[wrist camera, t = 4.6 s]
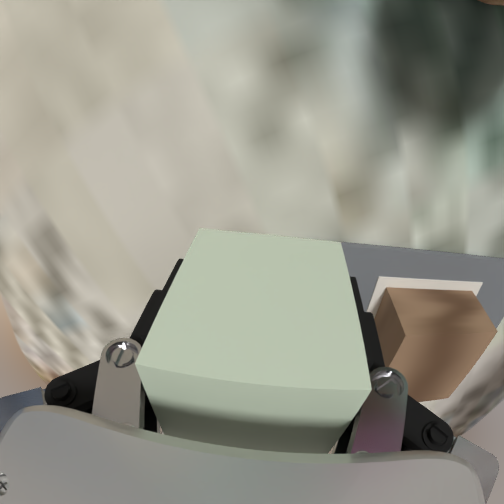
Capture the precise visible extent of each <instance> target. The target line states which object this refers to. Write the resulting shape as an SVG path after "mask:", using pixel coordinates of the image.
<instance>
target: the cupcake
mask: <svg viewBox="0 0 504 504" xmlns="http://www.w3.org/2000/svg"><path fill="white" fill-rule="evenodd" d="M478 1H481V2H483V3H486V4H491V5H503V6H504V0H478Z"/></svg>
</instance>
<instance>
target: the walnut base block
mask: <svg viewBox="0 0 504 504" xmlns="http://www.w3.org/2000/svg"><path fill="white" fill-rule="evenodd" d="M374 320H375V324H376V328H377V333H378V337H379V341H380V346H381V350H382V354H383V359H384V364H385V367H391V368H393V369H396V370H398V371H399V372H400V373H402V375H403V376H404V377H405V379H406V381H407V383H408V395H409V396H411V397H412V398H413V399H415V400H416V401H417V402H423V401H431V400H438V399H444V398H448V397H449V396H450V395H451V394H452V393H453V391H454V390H455V389H456V388H457V387H458V385H459V384H460V383H461V382H462V380H463V379H464V378H465V377H466V375H467V374H468V373H469V371H470V370H471V369H472V367H473V366H474V365H475V363H476V362H477V361H478V359H479V358H480V356H481V355H482V354H483V352H484V351H485V349H486V348H487V346H488V345H489V343H490V342H491V340H492V339H493V337H494V336H495V334H496V333H497V330H496V328H495V326H494V325H493V323H492V321H491V320H490V318H489V316H488V315H487V313H486V311H485V310H484V308H483V307H482V305H481V304H480V302H479V300H478V299H477V297H476V296H475V294H474V293H473V291H465V290H437V289H414V288H393V287H386V289H385V292H384V295H383V297H382V300H381V303H380V305H379V308H378V310H377V313H376V315H375V318H374Z"/></svg>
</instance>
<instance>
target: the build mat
mask: <svg viewBox="0 0 504 504" xmlns="http://www.w3.org/2000/svg"><path fill="white" fill-rule="evenodd" d="M334 242H335V241H334ZM341 245H342V249H343V253H344V257H345V261H346V265H347V269H348V273H349V276H351V277H356V280H357V284H358V288H359V292H360V296H361V300H362V304H363V309H364V312H371V313H372V314H373V316H374V318H375V315H376V313H377V310H378V308H379V305H380V303H381V300H382V297H383V295H384V292H385V289H386V287H393V288H414V289H437V290H465V291H473V293H474V294H475V296H476V297H477V299H478V300H479V302H480V304H481V305H482V307H483V308H484V310H485V311H486V313H487V315H488V316H489V318H490V320H491V321H492V323H493V325H494V326H495V328H497V327H498V325H499V323H500V322H501V320H502V318H503V317H504V258H495V257H486V256H477V255H468V254H459V253H449V252H440V251H430V250H420V249H410V248H400V247H389V246H379V245H368V244H357V243H346V242H341Z"/></svg>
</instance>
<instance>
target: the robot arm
mask: <svg viewBox="0 0 504 504" xmlns="http://www.w3.org/2000/svg"><path fill="white" fill-rule="evenodd" d="M183 260H184V259H179V260H178V261H177V263H176V265H175V267H174V269H173V271H172V273H171V275H170V277H169V279H168V280H167V282H166V284H165V286H164V288H163V290H155V291H154V292H153V294H152V296H151V298H150V300H149V302H148V303H147V305H146V307H145V309H144V311H143V313H142V315H141V317H140V319H139V321H138V323H137V325H136V327H135V329H134V331H133V333H132V335H131V337H130V338H118V339H115V340H113V341H111V342H110V343H108V344H107V345H106V346H105V347H104V349H103V351H102V353H101V358H100V360H99V361H96V362H94V363H92V364H89V365H87V366H84V367H82V368H79V369H77V370H74V371H72V372H70V373H67V374H65V375H62V376H60V377H57V378H55V379H54V380H52V381H51V382H50V383H49V384H48V385H47V387H46V389H42V388H41V387H39V388H35V389H32V390H28V391H24V392H20V393H16V394H13V395H9V396H5V397H2V398H0V504H486V503H487V500H488V498H489V495H490V493H491V491H492V488H493V485H494V483H495V480H496V477H497V475H498V471H499V463H498V460H497V458H496V457H495V456H494V455H493V454H491V453H489V452H488V451H486V450H484V449H482V448H480V447H479V446H477V445H475V444H473V443H471V442H470V441H468V440H466V439H464V438H462V437H461V436H458V437H455V436H453V432H452V430H451V428H450V426H449V425H448V424H447V423H446V422H445V421H443V420H442V419H440V418H439V417H438V416H436V415H435V414H434V413H432V412H431V411H430V410H428V409H427V408H426V407H424V406H423V405H421V404H420V403H419V402H417V401H416V400H415V399H413V398H412V397H411V396H409V395H408V383H407V381H406V379H405V377H404V376H403V375H402V373H400V372H399V371H398V370H396V369H393V368H391V367H385V364H384V359H383V354H382V350H381V346H380V341H379V337H378V333H377V328H376V324H375V320H374V316H373V314H372V313H371V312H364V309H363V304H362V300H361V296H360V292H359V288H358V284H357V280H356V277H351V276H349V277H350V281H351V285H352V290H353V294H354V299H355V303H356V308H357V312H358V317H359V322H360V327H361V332H362V337H363V342H364V347H365V353H366V358H367V364H368V370H369V376H370V382H371V388H372V390H371V392H370V393H369V395H368V397H367V398H366V400H365V401H364V403H363V404H362V406H361V407H360V409H359V411H358V412H357V414H356V415H355V416H354V418H353V419H352V421H351V422H350V424H349V425H348V427H347V428H346V430H345V431H344V432H343V434H342V435H341V437H340V438H339V439H338V441H337V442H336V443H335V445H334V447H333V451H332V454H307V453H287V452H272V451H261V450H251V449H243V448H235V447H228V446H221V445H214V444H208V443H203V442H197V441H192V440H187V439H182V438H177V437H172V436H168V435H164V434H160V424H159V422H158V420H157V417H156V415H155V413H154V411H153V408H152V406H151V403H150V401H149V399H148V396H147V394H146V391H145V389H144V386H143V384H142V381H141V379H140V376H139V373H138V371H137V368H136V365H135V362H136V360H137V358H138V355H139V353H140V351H141V349H142V346H143V344H144V342H145V340H146V338H147V335H148V333H149V331H150V329H151V327H152V324H153V322H154V320H155V318H156V316H157V314H158V312H159V309H160V307H161V305H162V303H163V301H164V299H165V297H166V295H167V293H168V291H169V289H170V286H171V284H172V282H173V280H174V278H175V276H176V274H177V272H178V270H179V268H180V266H181V264H182V262H183Z"/></svg>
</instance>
